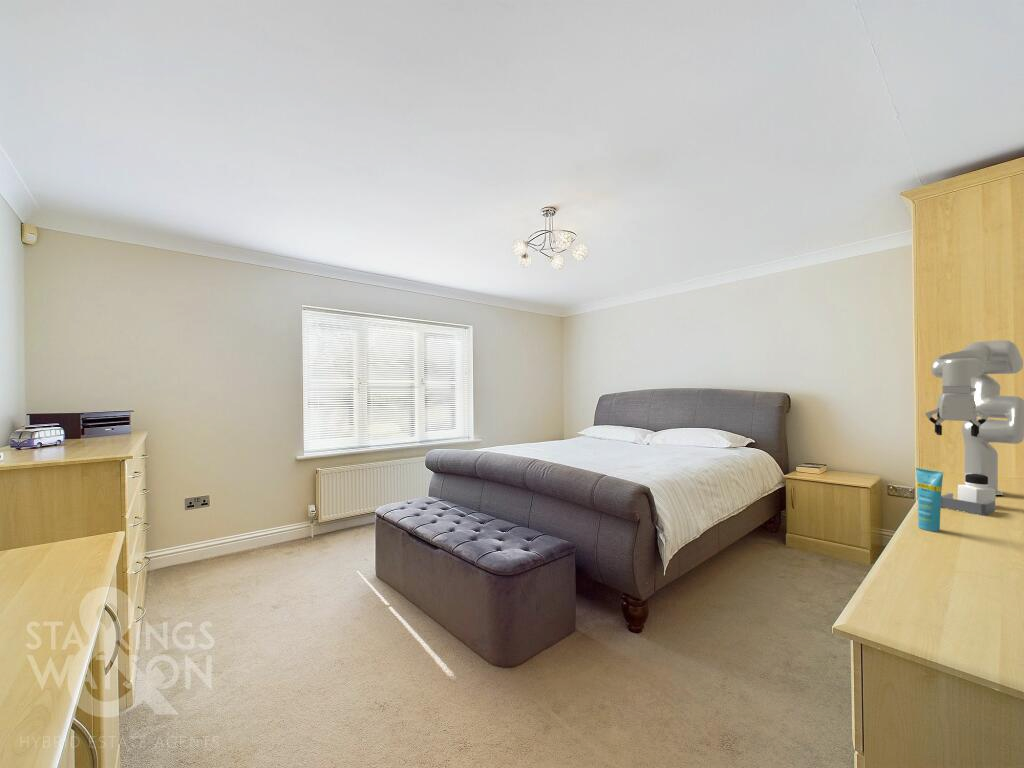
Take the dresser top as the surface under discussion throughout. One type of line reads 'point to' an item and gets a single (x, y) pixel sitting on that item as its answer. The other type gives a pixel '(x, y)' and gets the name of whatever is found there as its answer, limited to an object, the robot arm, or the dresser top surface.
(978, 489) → the medicine bottle
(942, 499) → the box
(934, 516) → the tube
